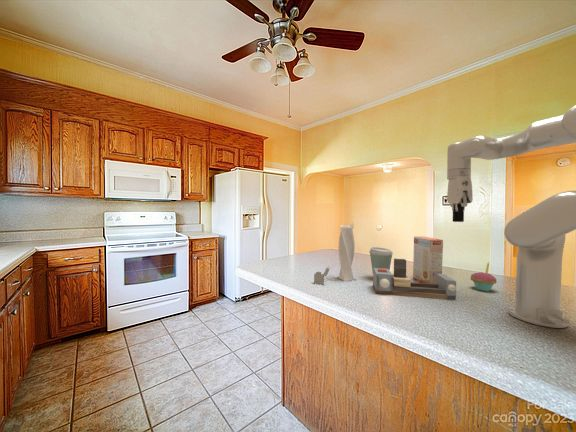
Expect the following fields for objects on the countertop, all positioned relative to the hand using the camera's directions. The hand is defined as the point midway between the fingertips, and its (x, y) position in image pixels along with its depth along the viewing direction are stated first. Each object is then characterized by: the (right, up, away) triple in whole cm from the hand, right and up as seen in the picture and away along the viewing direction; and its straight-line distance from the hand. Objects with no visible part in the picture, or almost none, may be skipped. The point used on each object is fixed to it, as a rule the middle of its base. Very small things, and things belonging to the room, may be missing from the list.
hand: (458, 221), depth 93 cm
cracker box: (-3, -29, +17) cm, 33 cm away
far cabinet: (-27, -29, +6) cm, 40 cm away
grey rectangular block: (-5, -29, +1) cm, 29 cm away
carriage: (-21, -26, +4) cm, 33 cm away
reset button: (-27, -24, +6) cm, 37 cm away
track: (-17, -29, +3) cm, 33 cm away
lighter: (-51, -29, +14) cm, 60 cm away
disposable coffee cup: (-22, -29, +22) cm, 42 cm away
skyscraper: (-38, -29, +21) cm, 53 cm away
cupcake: (+16, -29, +7) cm, 34 cm away
